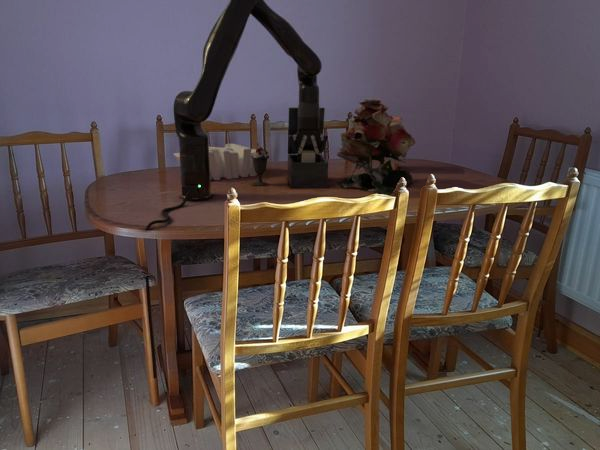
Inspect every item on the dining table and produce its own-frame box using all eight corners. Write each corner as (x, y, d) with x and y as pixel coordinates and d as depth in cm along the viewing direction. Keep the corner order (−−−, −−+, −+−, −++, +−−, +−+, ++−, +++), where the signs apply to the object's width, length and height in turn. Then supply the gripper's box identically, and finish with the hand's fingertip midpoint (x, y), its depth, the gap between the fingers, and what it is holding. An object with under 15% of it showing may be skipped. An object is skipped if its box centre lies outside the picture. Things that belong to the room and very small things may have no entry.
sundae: (252, 186, 188) (252, 144, 183) (249, 182, 194) (248, 141, 190) (271, 186, 190) (271, 143, 185) (267, 181, 196) (267, 140, 191)
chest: (327, 187, 188) (328, 162, 185) (291, 188, 187) (291, 162, 184) (321, 177, 204) (321, 154, 201) (287, 177, 203) (287, 154, 200)
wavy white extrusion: (185, 183, 192) (184, 154, 188) (172, 174, 205) (171, 147, 202) (273, 174, 208) (273, 147, 205) (255, 167, 222) (255, 141, 219)
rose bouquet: (418, 180, 200) (424, 98, 191) (389, 196, 176) (394, 103, 167) (355, 173, 213) (358, 95, 204) (320, 187, 189) (322, 99, 180)
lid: (324, 108, 191) (322, 103, 196) (288, 108, 190) (287, 103, 195) (321, 153, 201) (320, 147, 205) (287, 153, 200) (286, 147, 204)
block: (315, 165, 188) (315, 152, 187) (302, 166, 188) (302, 152, 187) (313, 163, 193) (313, 150, 191) (300, 163, 192) (300, 150, 191)
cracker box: (396, 173, 213) (399, 119, 207) (380, 172, 215) (383, 119, 209) (399, 166, 226) (402, 116, 220) (384, 165, 228) (387, 115, 222)
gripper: (288, 116, 181) (288, 166, 186) (330, 116, 182) (329, 165, 187) (287, 114, 188) (287, 162, 193) (327, 114, 189) (326, 161, 194)
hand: (307, 163), depth 190 cm, fingers closed on block, 4 cm apart
